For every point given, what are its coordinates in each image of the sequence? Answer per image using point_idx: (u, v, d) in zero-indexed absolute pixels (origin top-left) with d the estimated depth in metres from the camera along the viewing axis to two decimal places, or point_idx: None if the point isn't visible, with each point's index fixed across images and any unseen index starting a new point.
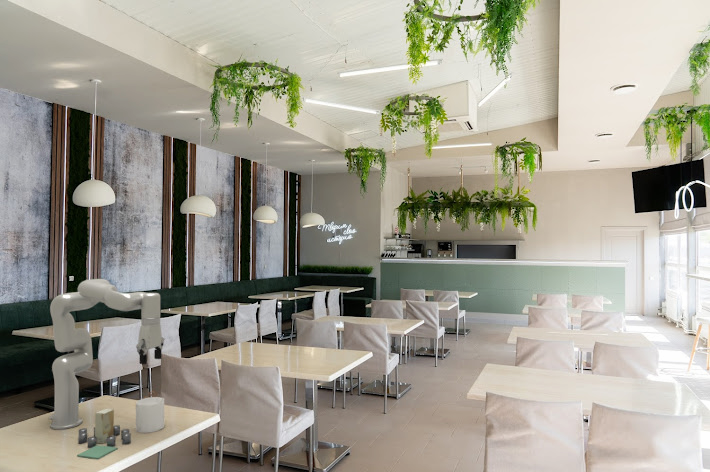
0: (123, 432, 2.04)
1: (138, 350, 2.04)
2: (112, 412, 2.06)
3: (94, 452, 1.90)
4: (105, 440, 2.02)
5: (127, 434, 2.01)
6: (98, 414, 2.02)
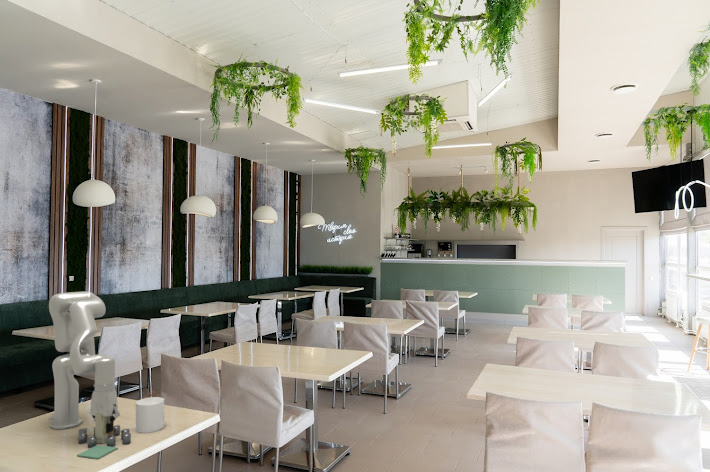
0: (123, 432, 2.04)
1: (115, 418, 2.03)
2: None
3: (94, 452, 1.90)
4: (105, 440, 2.02)
5: (127, 434, 2.01)
6: (98, 414, 2.02)
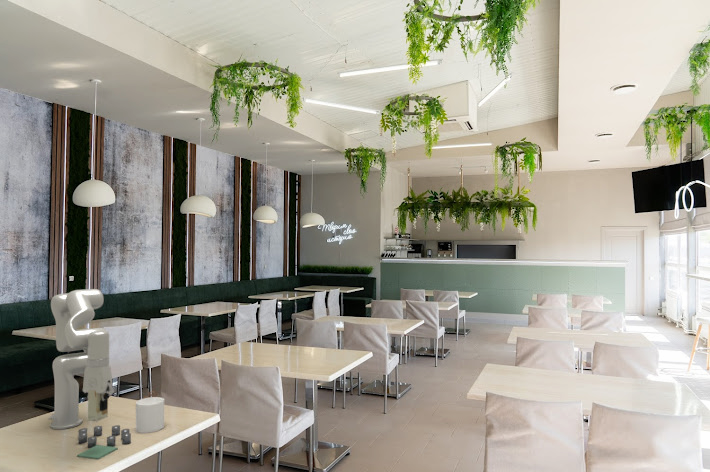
0: (123, 432, 2.04)
1: (109, 395, 1.91)
2: None
3: (94, 452, 1.90)
4: (99, 418, 1.90)
5: (127, 434, 2.01)
6: (91, 391, 1.90)
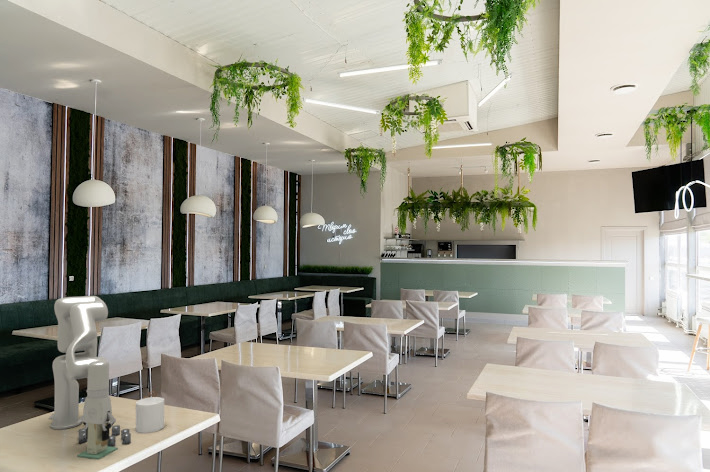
0: (123, 432, 2.04)
1: (111, 424, 1.90)
2: None
3: None
4: (98, 451, 1.89)
5: (127, 434, 2.01)
6: (91, 423, 1.89)
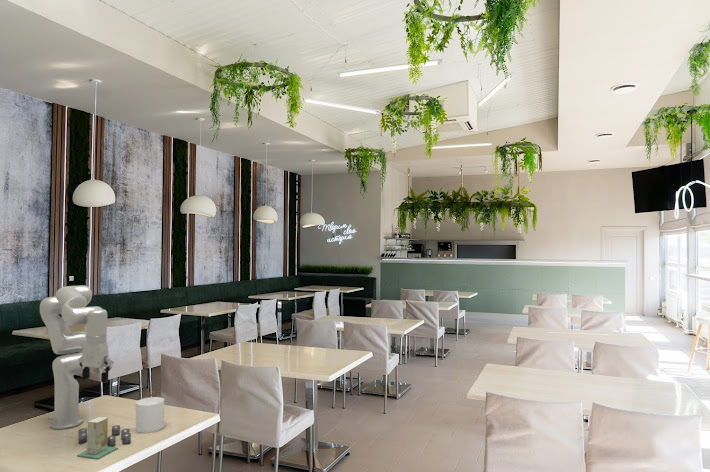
0: (123, 432, 2.04)
1: (110, 367, 2.02)
2: (106, 421, 1.94)
3: None
4: (98, 451, 1.89)
5: (127, 434, 2.01)
6: (91, 423, 1.89)
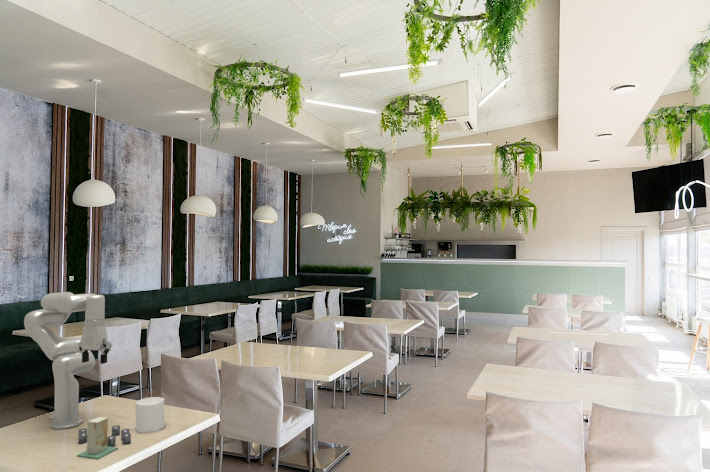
0: (123, 432, 2.04)
1: (109, 349, 2.12)
2: (106, 421, 1.94)
3: None
4: (98, 451, 1.89)
5: (127, 434, 2.01)
6: (91, 423, 1.89)
